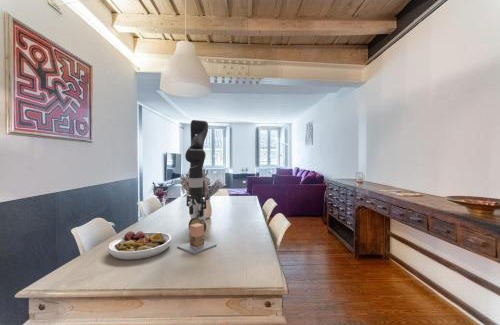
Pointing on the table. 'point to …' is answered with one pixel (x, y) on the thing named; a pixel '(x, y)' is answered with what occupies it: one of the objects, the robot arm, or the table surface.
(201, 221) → the alarm clock
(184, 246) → the grey square plate
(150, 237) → the bowl
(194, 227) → the terracotta block
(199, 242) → the walnut block
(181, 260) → the table surface
